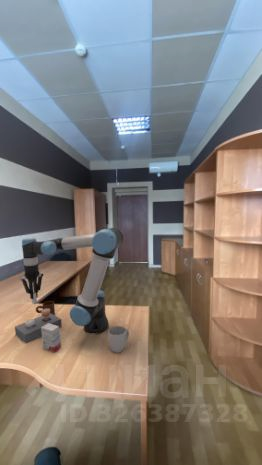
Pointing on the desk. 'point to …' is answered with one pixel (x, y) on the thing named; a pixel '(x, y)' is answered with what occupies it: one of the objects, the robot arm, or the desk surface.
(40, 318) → the panel
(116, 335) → the mug
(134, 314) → the desk surface
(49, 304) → the mug
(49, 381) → the desk surface
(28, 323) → the grey plug
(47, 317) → the terracotta plug
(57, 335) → the ink box
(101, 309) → the robot arm
